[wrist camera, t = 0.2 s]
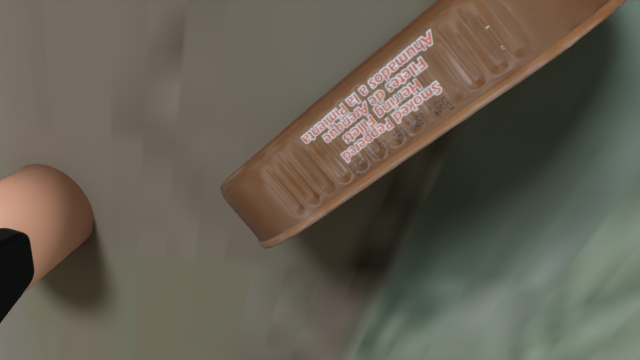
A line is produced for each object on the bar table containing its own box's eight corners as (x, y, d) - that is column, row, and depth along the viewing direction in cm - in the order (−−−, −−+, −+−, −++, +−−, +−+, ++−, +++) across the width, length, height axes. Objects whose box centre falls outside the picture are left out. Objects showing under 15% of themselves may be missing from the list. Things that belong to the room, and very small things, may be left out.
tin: (309, 183, 24) (235, 300, 17) (261, 131, 24) (165, 229, 17) (638, -62, 17) (752, -37, 10) (582, -144, 17) (659, -183, 9)
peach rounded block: (99, 254, 30) (42, 306, 26) (21, 235, 31) (-45, 282, 27) (87, 173, 28) (23, 217, 24) (4, 156, 29) (-72, 195, 25)
